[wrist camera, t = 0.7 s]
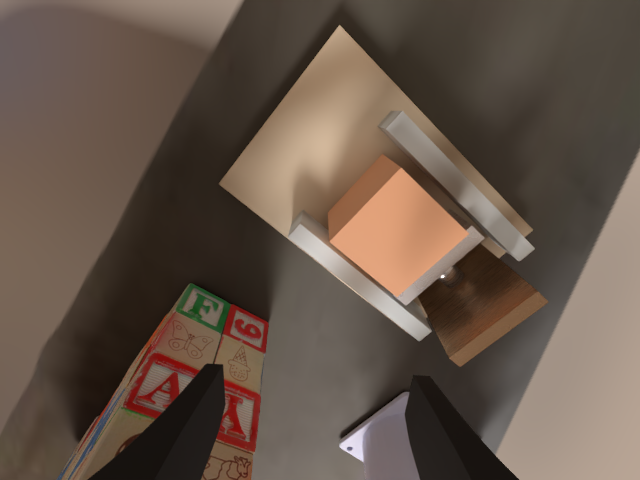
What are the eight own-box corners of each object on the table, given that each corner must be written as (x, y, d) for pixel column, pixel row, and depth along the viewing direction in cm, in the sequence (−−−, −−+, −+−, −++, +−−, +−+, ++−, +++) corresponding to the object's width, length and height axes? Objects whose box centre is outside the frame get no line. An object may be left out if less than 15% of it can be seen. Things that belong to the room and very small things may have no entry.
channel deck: (523, 224, 20) (563, 247, 16) (403, 324, 22) (417, 360, 19) (338, 29, 16) (342, 9, 12) (223, 180, 19) (202, 194, 15)
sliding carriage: (488, 246, 19) (553, 299, 13) (422, 302, 20) (456, 369, 15) (449, 208, 18) (502, 249, 13) (383, 270, 19) (406, 329, 14)
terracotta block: (436, 205, 18) (469, 233, 14) (381, 258, 19) (397, 297, 15) (382, 153, 17) (401, 167, 13) (327, 212, 18) (329, 241, 14)
